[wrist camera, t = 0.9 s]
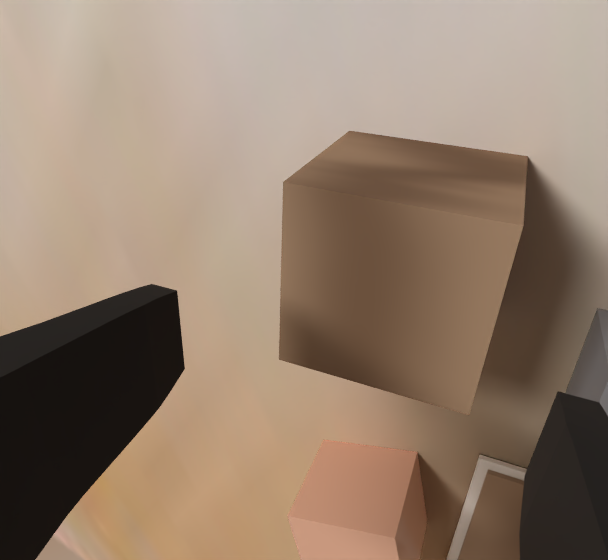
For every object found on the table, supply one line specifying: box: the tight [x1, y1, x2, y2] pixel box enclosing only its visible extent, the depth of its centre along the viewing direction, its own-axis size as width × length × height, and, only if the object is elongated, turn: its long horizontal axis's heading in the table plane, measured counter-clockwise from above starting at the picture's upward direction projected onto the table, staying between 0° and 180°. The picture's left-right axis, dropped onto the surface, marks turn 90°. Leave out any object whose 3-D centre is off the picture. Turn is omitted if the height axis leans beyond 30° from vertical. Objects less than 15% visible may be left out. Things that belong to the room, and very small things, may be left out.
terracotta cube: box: [288, 440, 427, 560], centre depth 20 cm, size 4×4×4 cm
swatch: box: [446, 455, 527, 560], centre depth 20 cm, size 7×7×1 cm
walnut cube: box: [279, 131, 528, 415], centre depth 14 cm, size 5×5×5 cm
